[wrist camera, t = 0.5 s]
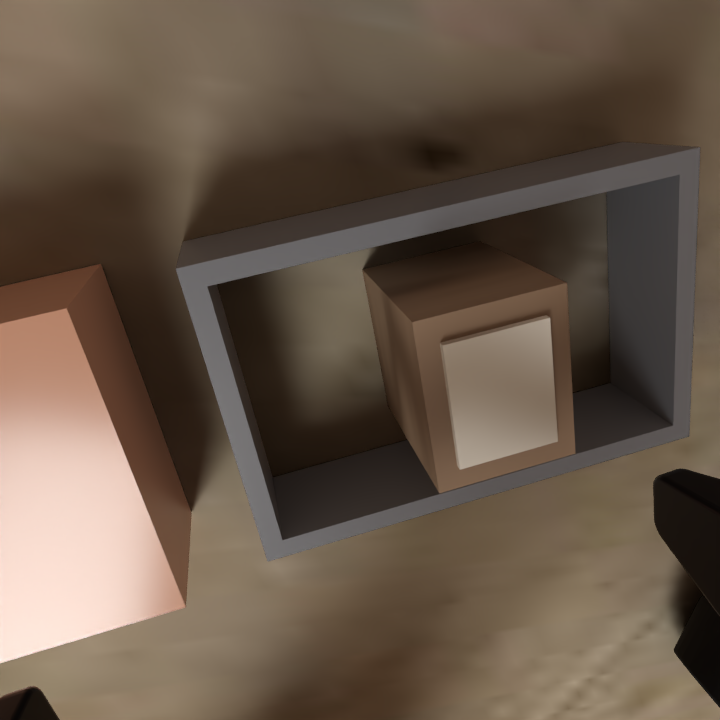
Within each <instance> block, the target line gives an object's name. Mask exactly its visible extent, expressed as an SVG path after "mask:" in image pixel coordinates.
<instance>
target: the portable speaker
mask: <svg viewBox="0 0 720 720" xmlns="http://www.w3.org/2000/svg"><path fill="white" fill-rule="evenodd" d="M674 652H675V654H676V655H677V657H678V658H679V659H680V660H681V662H682V663H683V664H684V665H685V667H686V668H687V669H688V671H689V672H690V673H691V674H692V676H693V677H694V678H695V679H696V680H697V681H698V683H699V684H700V685H701V686H702V687H703V689H704V690H705V691H706V692H707V693H708V695H709V696H710V697H711V698H712V699H713V700H714V702H715V703H716V704H717V705H718V706H719V707H720V616H719V615H718V613H717V612H716V611H715V609H714V608H713V607H712V605H711V604H710V603H709V601H708V600H707V599H706V597H705V596H703V597H701V598H700V599H699V601H698V603H697V605H696V607H695V609H694V611H693V613H692V615H691V617H690V619H689V621H688V623H687V625H686V626H685V628H684V630H683V632H682V634H681V636H680V638H679V640H678V642H677V644H676V646H675V648H674Z"/></svg>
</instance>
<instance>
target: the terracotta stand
mask: <svg viewBox="0 0 720 720" xmlns="http://www.w3.org/2000/svg"><path fill="white" fill-rule="evenodd" d="M191 514H192V513H191V510H190V507H189V505H188V502H187V499H186V496H185V494H184V491H183V488H182V485H181V483H180V480H179V477H178V474H177V472H176V469H175V466H174V464H173V461H172V458H171V455H170V453H169V450H168V447H167V444H166V442H165V439H164V436H163V433H162V431H161V428H160V425H159V422H158V420H157V417H156V414H155V411H154V409H153V406H152V403H151V400H150V398H149V395H148V392H147V389H146V387H145V384H144V381H143V378H142V376H141V373H140V370H139V367H138V365H137V362H136V359H135V356H134V354H133V351H132V348H131V345H130V343H129V340H128V337H127V334H126V332H125V329H124V326H123V323H122V321H121V318H120V315H119V312H118V310H117V307H116V304H115V301H114V299H113V296H112V293H111V290H110V288H109V285H108V282H107V279H106V277H105V274H104V271H103V268H102V266H101V264H98V265H93V266H89V267H85V268H80V269H76V270H71V271H67V272H63V273H58V274H54V275H49V276H45V277H41V278H36V279H32V280H27V281H23V282H19V283H14V284H10V285H5V286H1V287H0V663H3V662H6V661H9V660H12V659H16V658H19V657H22V656H26V655H29V654H32V653H36V652H39V651H42V650H46V649H49V648H52V647H56V646H59V645H62V644H66V643H69V642H72V641H75V640H79V639H82V638H85V637H89V636H92V635H95V634H99V633H102V632H105V631H109V630H112V629H115V628H119V627H122V626H125V625H129V624H132V623H135V622H139V621H142V620H145V619H148V618H152V617H155V616H158V615H162V614H165V613H168V612H172V611H175V610H178V609H182V608H185V607H186V597H187V580H188V564H189V547H190V531H191Z"/></svg>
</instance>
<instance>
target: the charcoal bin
mask: <svg viewBox="0 0 720 720" xmlns="http://www.w3.org/2000/svg"><path fill="white" fill-rule="evenodd" d="M699 167H700V147H690V146H676V145H661V144H646V143H631V142H620V143H616V144H611V145H607V146H602V147H598V148H594V149H589V150H585V151H580V152H576V153H572V154H567V155H563V156H558V157H554V158H550V159H545V160H541V161H536V162H532V163H527V164H523V165H519V166H514V167H510V168H505V169H501V170H497V171H492V172H488V173H483V174H479V175H475V176H470V177H466V178H461V179H457V180H452V181H448V182H444V183H439V184H435V185H430V186H426V187H422V188H417V189H413V190H408V191H404V192H399V193H395V194H391V195H386V196H382V197H377V198H373V199H369V200H364V201H360V202H355V203H351V204H347V205H342V206H338V207H333V208H329V209H324V210H320V211H316V212H311V213H307V214H302V215H298V216H294V217H289V218H285V219H280V220H276V221H272V222H267V223H263V224H258V225H254V226H249V227H245V228H241V229H236V230H232V231H227V232H223V233H219V234H214V235H210V236H205V237H201V238H197V239H192V240H188V241H183V242H182V246H181V250H180V254H179V258H178V262H177V266H176V271H177V275H178V278H179V281H180V284H181V287H182V291H183V294H184V297H185V300H186V303H187V306H188V310H189V313H190V316H191V319H192V322H193V326H194V329H195V332H196V335H197V338H198V341H199V345H200V348H201V351H202V354H203V357H204V361H205V364H206V367H207V370H208V373H209V376H210V380H211V383H212V386H213V389H214V392H215V395H216V399H217V402H218V405H219V408H220V411H221V415H222V418H223V421H224V424H225V427H226V430H227V434H228V437H229V440H230V443H231V446H232V450H233V453H234V456H235V459H236V462H237V465H238V469H239V472H240V475H241V478H242V481H243V485H244V488H245V491H246V494H247V497H248V500H249V504H250V507H251V510H252V513H253V516H254V520H255V523H256V526H257V529H258V532H259V535H260V539H261V542H262V545H263V548H264V551H265V555H266V558H267V561H271V560H275V559H278V558H282V557H285V556H288V555H292V554H295V553H298V552H302V551H305V550H309V549H312V548H315V547H319V546H322V545H325V544H329V543H332V542H335V541H339V540H342V539H346V538H349V537H352V536H356V535H359V534H362V533H366V532H369V531H372V530H376V529H379V528H383V527H386V526H389V525H393V524H396V523H399V522H403V521H406V520H409V519H413V518H416V517H420V516H423V515H426V514H430V513H433V512H436V511H440V510H443V509H446V508H450V507H453V506H457V505H460V504H463V503H467V502H470V501H473V500H477V499H480V498H483V497H487V496H490V495H494V494H497V493H500V492H504V491H507V490H510V489H514V488H517V487H521V486H524V485H527V484H531V483H534V482H537V481H541V480H544V479H547V478H551V477H554V476H558V475H561V474H564V473H568V472H571V471H574V470H578V469H581V468H584V467H588V466H591V465H595V464H598V463H601V462H605V461H608V460H611V459H615V458H618V457H621V456H625V455H628V454H632V453H635V452H638V451H642V450H645V449H648V448H652V447H655V446H658V445H662V444H665V443H669V442H672V441H675V440H679V439H682V438H685V437H689V431H690V405H691V378H692V352H693V326H694V299H695V273H696V247H697V220H698V194H699ZM604 192H607V235H608V281H609V328H610V375H611V383H609V384H605V385H602V386H598V387H594V388H591V389H587V390H584V391H580V392H577V393H573V413H574V433H575V454H572V455H569V456H566V457H562V458H559V459H555V460H552V461H549V462H545V463H542V464H538V465H535V466H531V467H528V468H525V469H521V470H518V471H514V472H511V473H508V474H504V475H501V476H497V477H494V478H491V479H487V480H484V481H480V482H477V483H473V484H470V485H467V486H463V487H460V488H456V489H453V490H450V491H446V492H443V493H439V492H438V490H437V488H436V487H435V485H434V483H433V482H432V480H431V478H430V477H429V475H428V473H427V471H426V470H425V468H424V466H423V465H422V463H421V461H420V460H419V458H418V456H417V454H416V453H415V451H414V449H413V448H412V446H411V444H410V443H409V441H408V440H405V441H402V442H398V443H394V444H391V445H387V446H384V447H380V448H377V449H373V450H369V451H366V452H362V453H359V454H355V455H352V456H348V457H344V458H341V459H337V460H334V461H330V462H327V463H323V464H319V465H316V466H312V467H309V468H305V469H302V470H298V471H294V472H291V473H287V474H284V475H280V476H277V477H272V473H271V470H270V467H269V463H268V460H267V456H266V453H265V449H264V446H263V442H262V439H261V435H260V432H259V429H258V425H257V422H256V418H255V415H254V411H253V408H252V404H251V401H250V397H249V394H248V391H247V387H246V384H245V380H244V377H243V373H242V370H241V366H240V363H239V360H238V356H237V353H236V349H235V346H234V342H233V339H232V335H231V332H230V328H229V325H228V322H227V318H226V315H225V311H224V308H223V304H222V301H221V297H220V294H219V290H218V287H217V284H220V283H224V282H228V281H232V280H237V279H241V278H245V277H249V276H254V275H258V274H262V273H266V272H270V271H275V270H279V269H283V268H287V267H292V266H296V265H300V264H304V263H308V262H313V261H317V260H321V259H325V258H330V257H334V256H338V255H342V254H346V253H351V252H355V251H359V250H363V249H368V248H372V247H376V246H380V245H384V244H389V243H393V242H397V241H401V240H406V239H410V238H414V237H418V236H422V235H427V234H431V233H435V232H439V231H443V230H448V229H452V228H456V227H460V226H465V225H469V224H473V223H477V222H481V221H486V220H490V219H494V218H498V217H503V216H507V215H511V214H515V213H519V212H524V211H528V210H532V209H536V208H541V207H545V206H549V205H553V204H557V203H562V202H566V201H570V200H574V199H579V198H583V197H587V196H591V195H595V194H600V193H604Z"/></svg>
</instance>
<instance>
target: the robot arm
mask: <svg viewBox="0 0 720 720" xmlns="http://www.w3.org/2000/svg"><path fill="white" fill-rule="evenodd" d="M653 496H654V521H655V525H656V528H657V531H658V532H659V534H660V536H661V537H662V539H663V540H664V542H665V543H666V544H667V546H668V547H669V548H670V550H671V551H672V552H673V554H674V555H675V557H676V558H677V559H678V561H679V562H680V563H681V565H682V566H683V567H684V569H685V570H686V571H687V573H688V574H689V576H690V577H691V578H692V580H693V581H694V582H695V584H696V585H697V586H698V588H699V589H700V590H701V592H702V593H703V594H704V596H705V597H706V599H707V600H708V601H709V603H710V604H711V605H712V607H713V608H714V609H715V611H716V612H717V613H718V615H719V616H720V479H718V478H714V477H711V476H707V475H704V474H700V473H697V472H693V471H690V470H686V469H676V470H673V471H670V472H667V473H664V474H661V475H659V476H657V477H656V478H655V480H654V483H653ZM0 720H59V718H58V716H57V715H56V713H55V712H54V710H53V708H52V707H51V705H50V704H49V702H48V700H47V699H46V697H45V696H44V694H43V692H42V691H41V690H40V689H39V688H37V687H35V686H30V687H27V688H24V689H21V690H18V691H15V692H12V693H9V694H6V695H4V696H2V697H1V698H0Z"/></svg>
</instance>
